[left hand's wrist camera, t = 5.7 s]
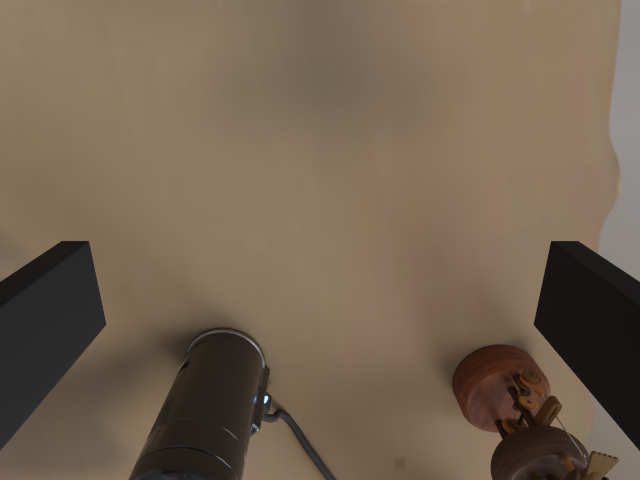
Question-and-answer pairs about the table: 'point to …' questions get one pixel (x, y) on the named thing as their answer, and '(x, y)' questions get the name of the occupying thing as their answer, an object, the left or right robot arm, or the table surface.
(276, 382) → the table surface
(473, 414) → the music box
